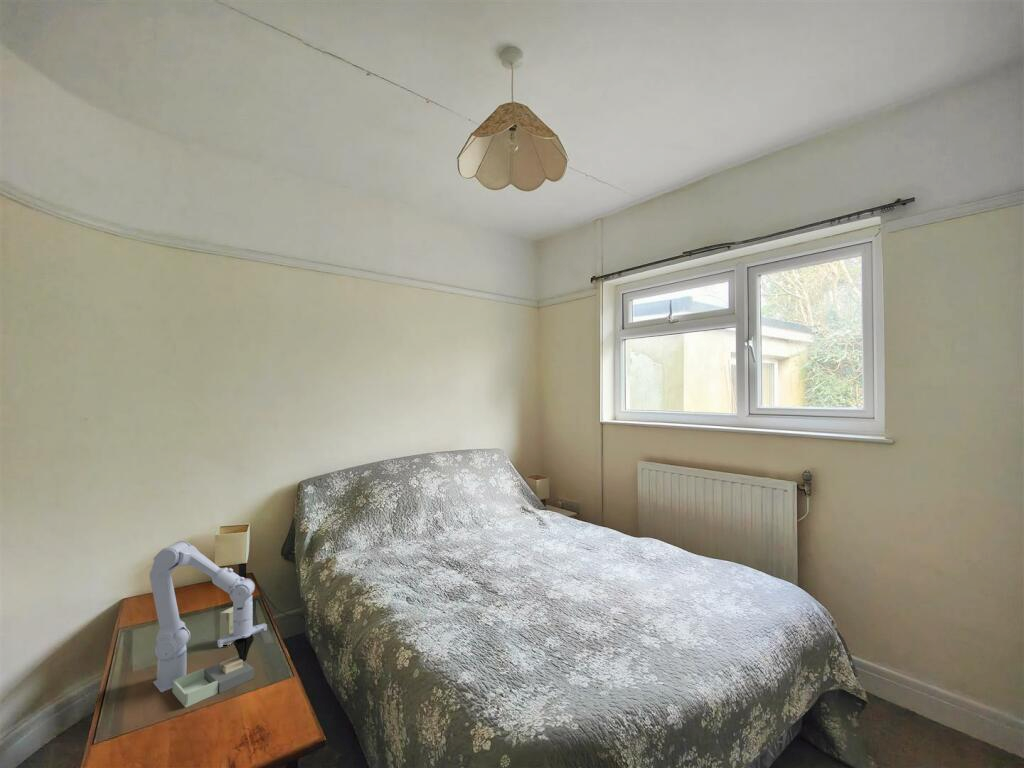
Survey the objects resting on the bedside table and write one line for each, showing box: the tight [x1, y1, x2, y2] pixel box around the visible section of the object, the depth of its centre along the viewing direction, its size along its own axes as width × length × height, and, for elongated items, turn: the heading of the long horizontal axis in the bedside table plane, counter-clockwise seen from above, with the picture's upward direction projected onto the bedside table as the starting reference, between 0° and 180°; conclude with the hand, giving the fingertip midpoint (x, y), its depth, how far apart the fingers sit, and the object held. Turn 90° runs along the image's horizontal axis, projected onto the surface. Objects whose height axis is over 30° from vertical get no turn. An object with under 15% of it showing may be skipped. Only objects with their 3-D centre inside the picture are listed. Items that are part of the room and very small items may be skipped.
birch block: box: [219, 655, 243, 674], centre depth 148 cm, size 5×5×2 cm
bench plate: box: [204, 661, 255, 694], centre depth 148 cm, size 14×10×3 cm
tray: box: [171, 667, 219, 708], centre depth 140 cm, size 13×8×4 cm, turn 51°
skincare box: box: [219, 606, 233, 645], centre depth 173 cm, size 6×4×12 cm
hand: (242, 660), depth 151 cm, fingers closed
